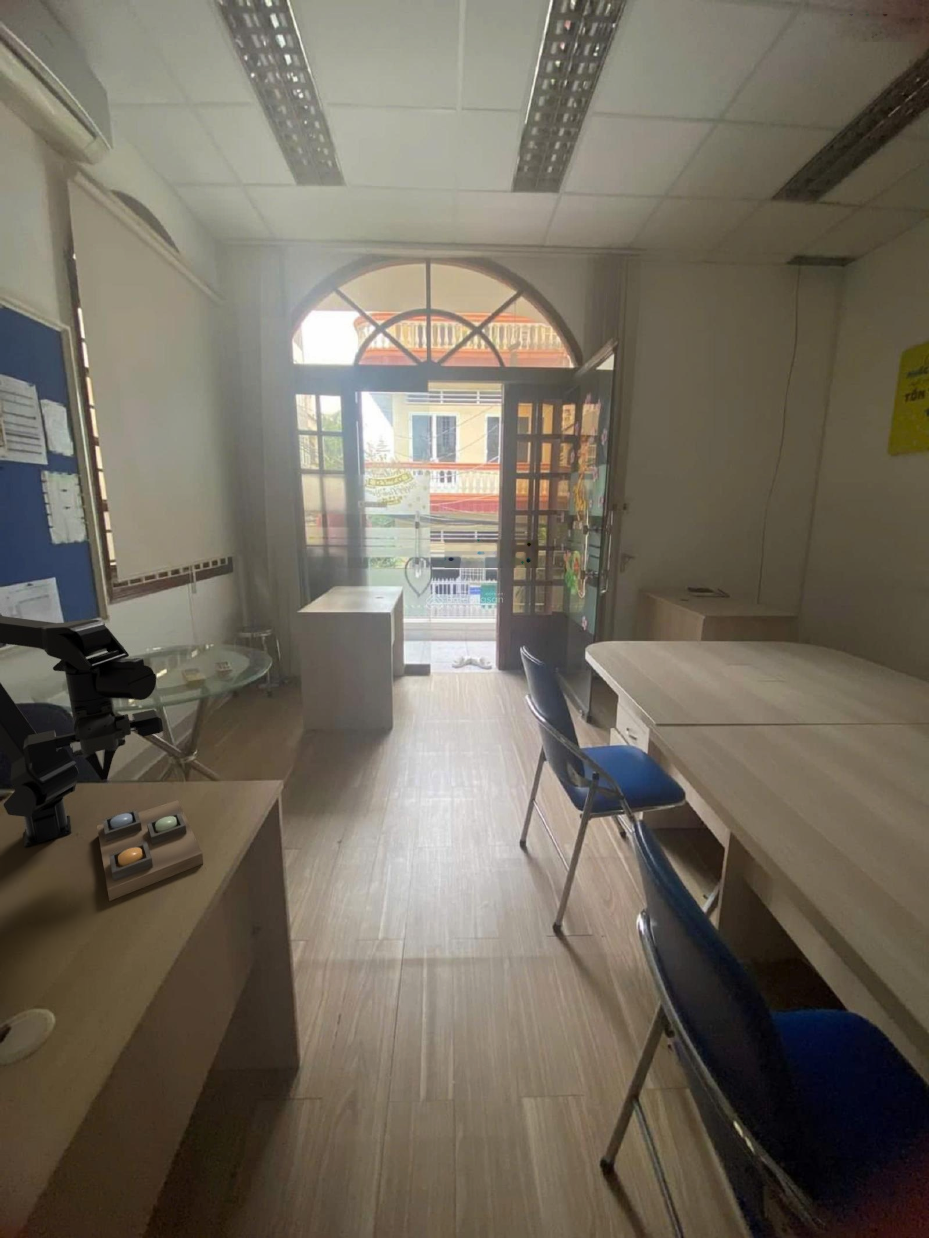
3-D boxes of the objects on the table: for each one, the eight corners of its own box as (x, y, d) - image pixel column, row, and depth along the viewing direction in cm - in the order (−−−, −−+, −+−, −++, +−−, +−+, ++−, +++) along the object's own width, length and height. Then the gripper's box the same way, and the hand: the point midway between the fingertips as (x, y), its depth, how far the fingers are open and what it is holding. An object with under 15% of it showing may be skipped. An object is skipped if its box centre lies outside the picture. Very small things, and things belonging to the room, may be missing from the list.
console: (98, 835, 89) (95, 817, 88) (179, 808, 97) (177, 792, 97) (109, 901, 74) (106, 880, 74) (203, 863, 83) (201, 844, 82)
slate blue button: (110, 825, 88) (109, 817, 88) (131, 818, 90) (130, 811, 90) (112, 834, 86) (111, 826, 85) (134, 827, 88) (133, 819, 87)
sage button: (154, 828, 87) (153, 820, 87) (175, 821, 89) (174, 814, 89) (158, 837, 85) (156, 829, 85) (178, 830, 87) (177, 822, 87)
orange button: (118, 861, 79) (116, 852, 79) (141, 853, 81) (140, 844, 81) (120, 872, 77) (119, 863, 76) (144, 863, 79) (143, 854, 78)
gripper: (14, 725, 71) (33, 821, 74) (163, 696, 82) (173, 780, 86) (17, 702, 79) (34, 789, 82) (152, 679, 91) (162, 756, 94)
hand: (104, 779), depth 86 cm, fingers closed
